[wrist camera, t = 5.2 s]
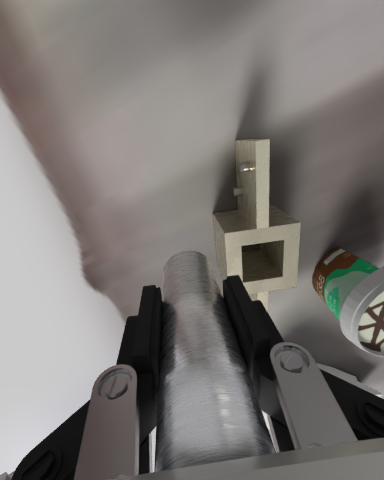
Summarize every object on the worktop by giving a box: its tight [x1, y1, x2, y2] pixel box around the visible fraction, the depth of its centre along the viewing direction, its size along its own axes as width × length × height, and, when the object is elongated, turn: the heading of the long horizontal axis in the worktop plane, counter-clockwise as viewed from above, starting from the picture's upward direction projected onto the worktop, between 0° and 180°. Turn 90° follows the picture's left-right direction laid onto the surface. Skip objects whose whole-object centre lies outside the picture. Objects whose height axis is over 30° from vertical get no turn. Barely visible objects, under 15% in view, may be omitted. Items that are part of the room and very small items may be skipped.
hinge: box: [213, 139, 301, 312], centre depth 28 cm, size 24×8×7 cm, turn 7°
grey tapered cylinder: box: [155, 251, 276, 472], centre depth 8 cm, size 4×4×13 cm
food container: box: [312, 247, 384, 357], centre depth 31 cm, size 12×6×10 cm, turn 27°
